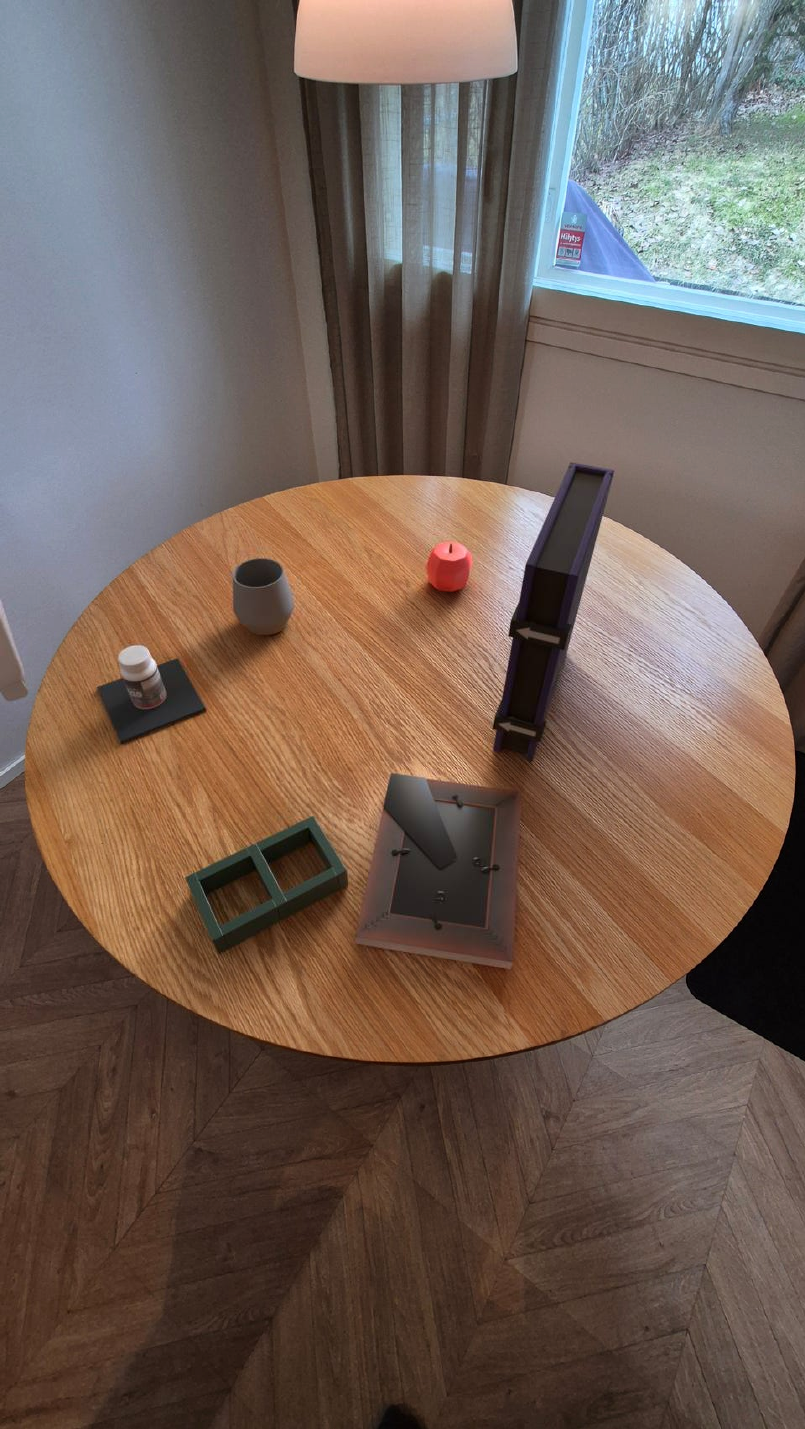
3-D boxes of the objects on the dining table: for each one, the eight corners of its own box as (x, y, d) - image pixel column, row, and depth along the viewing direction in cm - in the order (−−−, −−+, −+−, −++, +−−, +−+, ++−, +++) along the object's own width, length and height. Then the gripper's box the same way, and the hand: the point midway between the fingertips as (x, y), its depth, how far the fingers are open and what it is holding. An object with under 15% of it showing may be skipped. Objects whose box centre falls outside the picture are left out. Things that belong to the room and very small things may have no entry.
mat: (121, 744, 89) (119, 741, 89) (98, 689, 96) (96, 686, 96) (206, 710, 93) (205, 707, 93) (178, 660, 100) (177, 657, 100)
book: (529, 643, 104) (566, 461, 81) (569, 653, 102) (618, 470, 80) (488, 752, 89) (520, 565, 67) (534, 766, 87) (582, 579, 65)
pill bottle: (126, 699, 94) (107, 656, 88) (154, 681, 96) (137, 638, 90) (145, 715, 92) (127, 672, 86) (173, 697, 94) (158, 653, 88)
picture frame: (390, 784, 85) (355, 945, 71) (390, 772, 83) (354, 935, 69) (519, 802, 83) (510, 970, 69) (522, 790, 82) (513, 961, 67)
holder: (218, 954, 70) (211, 941, 67) (191, 892, 75) (184, 877, 72) (348, 885, 76) (347, 870, 73) (315, 831, 80) (313, 815, 78)
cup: (287, 647, 102) (278, 595, 95) (229, 640, 103) (216, 588, 96) (303, 609, 109) (297, 557, 101) (249, 602, 110) (238, 551, 102)
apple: (466, 568, 117) (470, 529, 111) (475, 596, 112) (480, 556, 106) (421, 572, 116) (423, 532, 110) (429, 600, 111) (431, 559, 105)
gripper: (-135, 469, 52) (-49, 607, 63) (-116, 610, 41) (-13, 751, 51) (-48, 450, 55) (22, 586, 65) (-6, 578, 43) (71, 720, 53)
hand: (7, 660), depth 58 cm, fingers open, 8 cm apart
